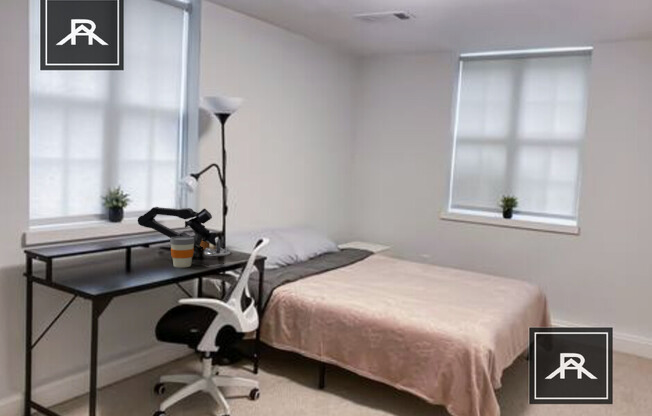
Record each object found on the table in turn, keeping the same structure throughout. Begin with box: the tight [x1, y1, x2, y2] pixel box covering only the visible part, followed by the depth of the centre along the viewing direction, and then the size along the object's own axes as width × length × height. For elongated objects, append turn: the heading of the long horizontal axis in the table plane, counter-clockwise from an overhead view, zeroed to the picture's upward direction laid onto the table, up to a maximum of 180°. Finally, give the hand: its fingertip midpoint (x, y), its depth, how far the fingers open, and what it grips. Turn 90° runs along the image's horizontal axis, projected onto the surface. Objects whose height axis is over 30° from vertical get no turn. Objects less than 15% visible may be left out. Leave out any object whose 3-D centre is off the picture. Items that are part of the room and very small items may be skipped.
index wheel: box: [204, 238, 231, 257], centre depth 311 cm, size 15×15×10 cm
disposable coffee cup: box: [199, 230, 214, 251], centre depth 326 cm, size 10×10×12 cm
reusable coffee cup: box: [169, 236, 195, 268], centre depth 281 cm, size 12×12×15 cm
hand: (215, 245), depth 303 cm, fingers closed
